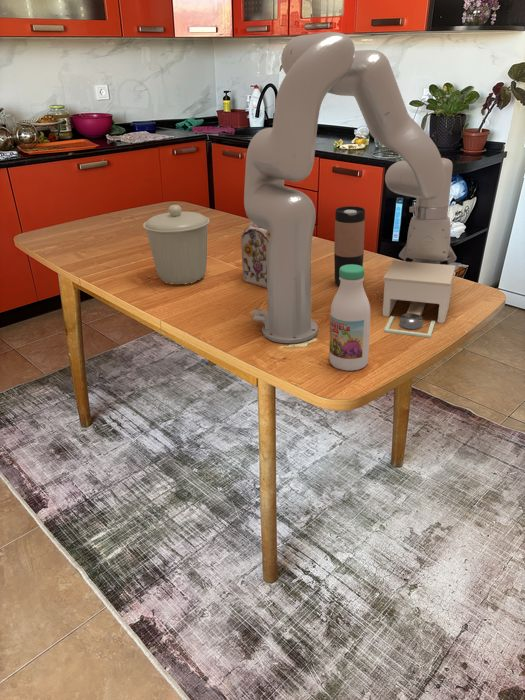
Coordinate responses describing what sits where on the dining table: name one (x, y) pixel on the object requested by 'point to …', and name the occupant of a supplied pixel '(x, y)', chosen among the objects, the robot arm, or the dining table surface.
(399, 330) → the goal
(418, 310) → the grey block on stick
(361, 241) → the travel mug
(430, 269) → the white open box
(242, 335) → the dining table surface
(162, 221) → the canister
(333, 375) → the dining table surface
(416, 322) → the ball
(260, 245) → the decorative jar
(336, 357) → the milk bottle
